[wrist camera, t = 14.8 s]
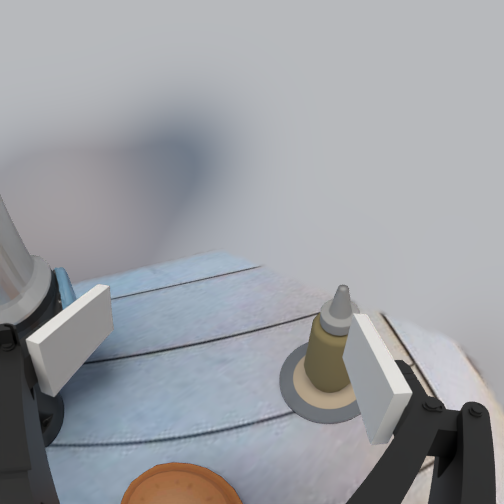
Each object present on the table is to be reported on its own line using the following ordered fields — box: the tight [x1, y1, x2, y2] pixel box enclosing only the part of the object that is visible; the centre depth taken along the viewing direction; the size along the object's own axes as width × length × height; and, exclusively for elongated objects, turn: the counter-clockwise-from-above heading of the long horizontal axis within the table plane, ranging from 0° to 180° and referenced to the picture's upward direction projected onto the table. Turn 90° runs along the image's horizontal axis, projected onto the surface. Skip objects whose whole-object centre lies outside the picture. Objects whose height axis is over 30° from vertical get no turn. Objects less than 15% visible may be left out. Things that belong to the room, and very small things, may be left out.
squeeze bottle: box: [304, 285, 360, 393], centre depth 38 cm, size 8×8×18 cm
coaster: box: [280, 343, 361, 424], centre depth 43 cm, size 15×15×1 cm
